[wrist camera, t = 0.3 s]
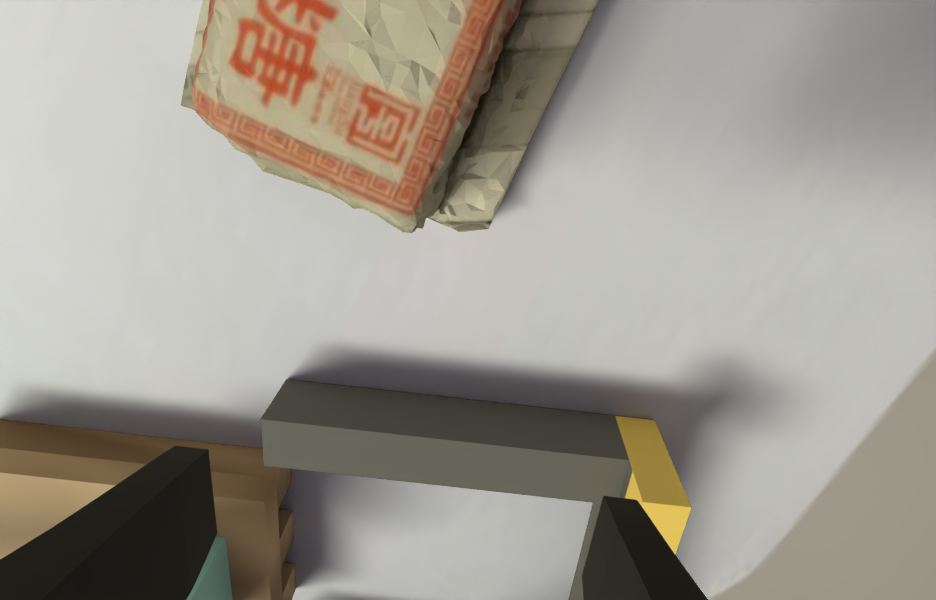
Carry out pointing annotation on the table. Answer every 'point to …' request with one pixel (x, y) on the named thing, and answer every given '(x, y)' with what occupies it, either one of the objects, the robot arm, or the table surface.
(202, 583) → the block
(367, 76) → the packaged product
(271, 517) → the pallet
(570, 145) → the table surface
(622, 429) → the dock
